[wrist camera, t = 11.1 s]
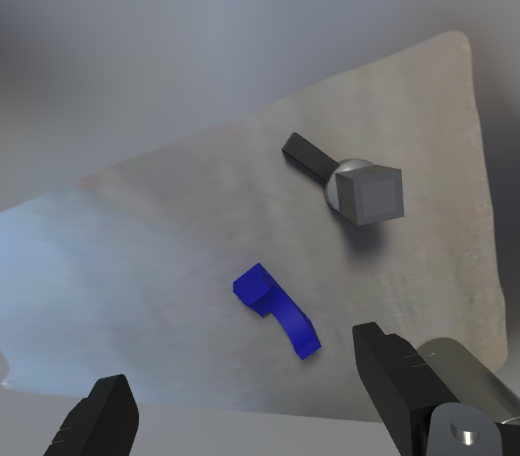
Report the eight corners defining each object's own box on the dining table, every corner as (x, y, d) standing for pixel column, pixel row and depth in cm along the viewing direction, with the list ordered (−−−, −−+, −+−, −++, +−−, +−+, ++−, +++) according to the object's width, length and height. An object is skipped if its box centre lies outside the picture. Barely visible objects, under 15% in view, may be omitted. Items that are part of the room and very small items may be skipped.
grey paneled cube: (375, 164, 37) (401, 169, 32) (379, 205, 39) (404, 216, 33) (334, 173, 37) (353, 179, 32) (339, 213, 39) (358, 226, 33)
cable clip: (233, 281, 43) (233, 303, 37) (258, 261, 43) (262, 280, 37) (286, 338, 46) (293, 366, 40) (310, 320, 46) (321, 346, 40)
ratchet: (387, 178, 41) (414, 185, 34) (354, 222, 42) (374, 237, 36) (303, 116, 38) (317, 111, 32) (270, 165, 39) (277, 170, 33)
